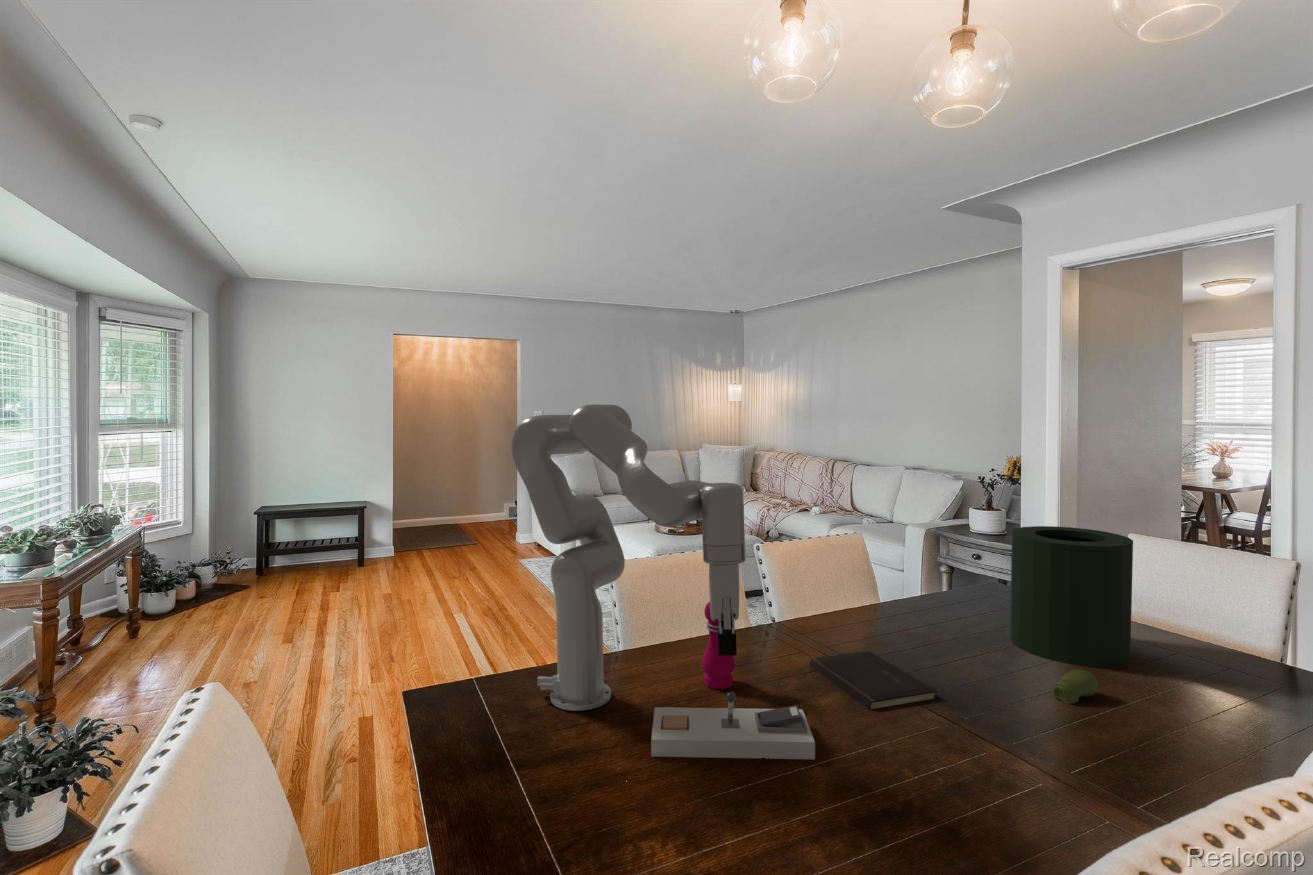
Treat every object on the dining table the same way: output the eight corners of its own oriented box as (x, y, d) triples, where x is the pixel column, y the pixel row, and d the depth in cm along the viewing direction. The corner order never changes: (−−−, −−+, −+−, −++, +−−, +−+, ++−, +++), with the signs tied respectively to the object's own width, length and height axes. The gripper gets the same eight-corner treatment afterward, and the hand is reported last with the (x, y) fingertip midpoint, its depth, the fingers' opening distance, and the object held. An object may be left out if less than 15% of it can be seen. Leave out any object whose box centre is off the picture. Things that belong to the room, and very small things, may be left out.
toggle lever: (725, 726, 115) (726, 697, 112) (725, 718, 117) (725, 689, 114) (735, 726, 115) (736, 697, 112) (734, 718, 116) (735, 689, 114)
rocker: (763, 729, 113) (762, 723, 113) (760, 717, 118) (759, 711, 118) (802, 721, 113) (801, 716, 113) (798, 710, 117) (796, 704, 117)
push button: (662, 742, 114) (662, 726, 114) (663, 729, 119) (663, 715, 118) (687, 742, 114) (687, 727, 114) (687, 730, 118) (687, 715, 118)
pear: (1102, 671, 131) (1071, 688, 127) (1104, 695, 131) (1073, 713, 128) (1075, 661, 136) (1044, 677, 132) (1077, 685, 137) (1046, 701, 133)
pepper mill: (733, 691, 136) (733, 598, 135) (699, 689, 137) (699, 596, 136) (736, 677, 143) (736, 589, 142) (704, 675, 144) (703, 587, 143)
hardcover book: (868, 659, 154) (868, 650, 153) (936, 701, 132) (936, 690, 131) (809, 668, 149) (809, 658, 149) (869, 712, 127) (870, 701, 127)
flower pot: (1125, 640, 163) (1128, 531, 162) (1135, 675, 142) (1138, 550, 141) (1013, 623, 177) (1014, 523, 176) (1006, 653, 156) (1008, 539, 154)
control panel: (651, 756, 111) (651, 734, 110) (654, 722, 123) (654, 703, 122) (814, 759, 109) (814, 737, 109) (802, 724, 121) (802, 705, 121)
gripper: (703, 544, 122) (706, 639, 122) (702, 562, 107) (706, 670, 108) (742, 543, 121) (745, 639, 122) (748, 561, 106) (751, 670, 107)
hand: (727, 653), depth 115 cm, fingers closed
